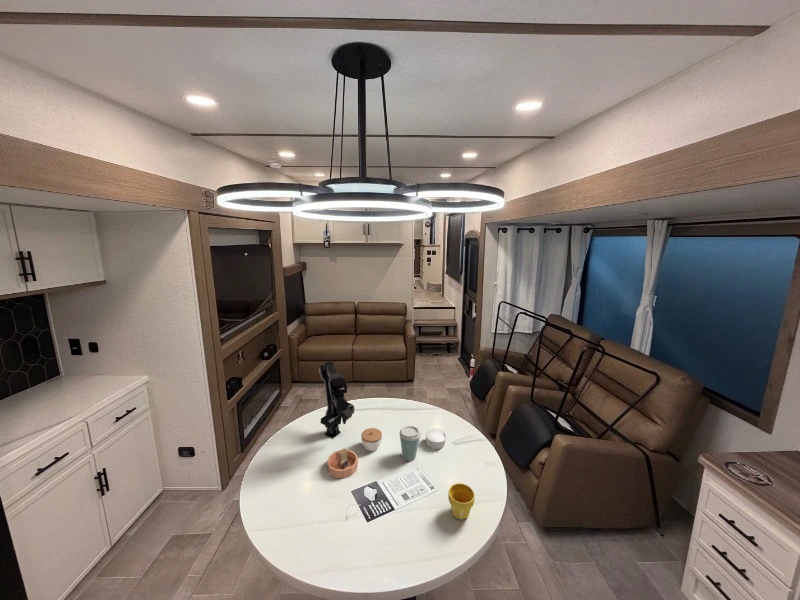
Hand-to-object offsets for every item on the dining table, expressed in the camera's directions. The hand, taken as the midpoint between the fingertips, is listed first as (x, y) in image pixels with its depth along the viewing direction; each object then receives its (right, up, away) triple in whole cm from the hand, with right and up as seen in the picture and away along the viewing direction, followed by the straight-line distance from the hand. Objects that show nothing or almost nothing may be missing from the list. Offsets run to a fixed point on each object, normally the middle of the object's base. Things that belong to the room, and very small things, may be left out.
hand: (338, 428), depth 161 cm
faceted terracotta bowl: (+4, -15, -9) cm, 18 cm away
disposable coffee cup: (+36, -14, -1) cm, 39 cm away
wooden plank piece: (+4, -14, -9) cm, 17 cm away
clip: (+4, -15, -9) cm, 18 cm away
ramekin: (+51, -12, +9) cm, 53 cm away
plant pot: (+56, -21, -32) cm, 68 cm away
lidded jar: (+17, -12, +5) cm, 21 cm away
